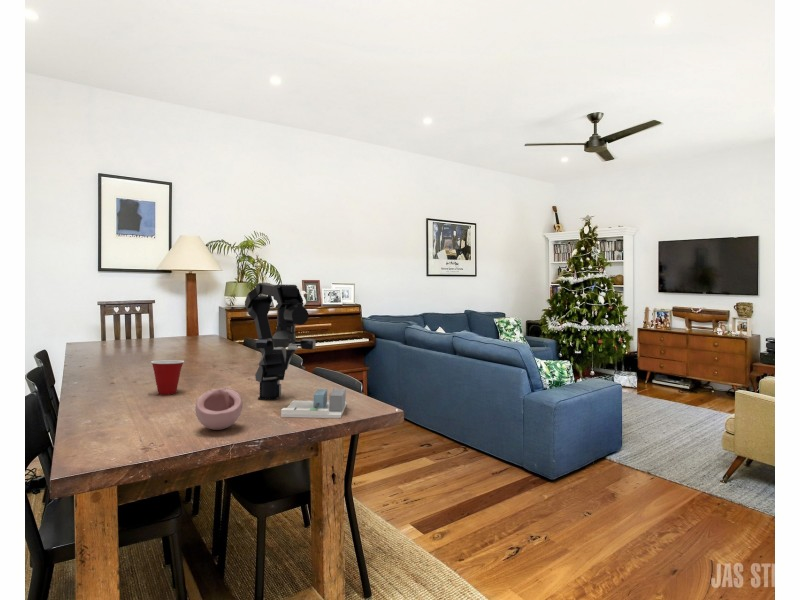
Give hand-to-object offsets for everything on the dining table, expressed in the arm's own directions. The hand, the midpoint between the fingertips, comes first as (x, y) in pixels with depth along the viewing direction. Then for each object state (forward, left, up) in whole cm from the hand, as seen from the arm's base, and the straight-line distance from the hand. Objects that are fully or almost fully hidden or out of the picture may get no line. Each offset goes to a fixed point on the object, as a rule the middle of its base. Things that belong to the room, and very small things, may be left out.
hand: (285, 369), depth 150 cm
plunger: (+13, -7, -11) cm, 18 cm away
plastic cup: (-46, +14, -12) cm, 50 cm away
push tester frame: (+11, -5, -12) cm, 17 cm away
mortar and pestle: (-12, -25, -12) cm, 30 cm away
